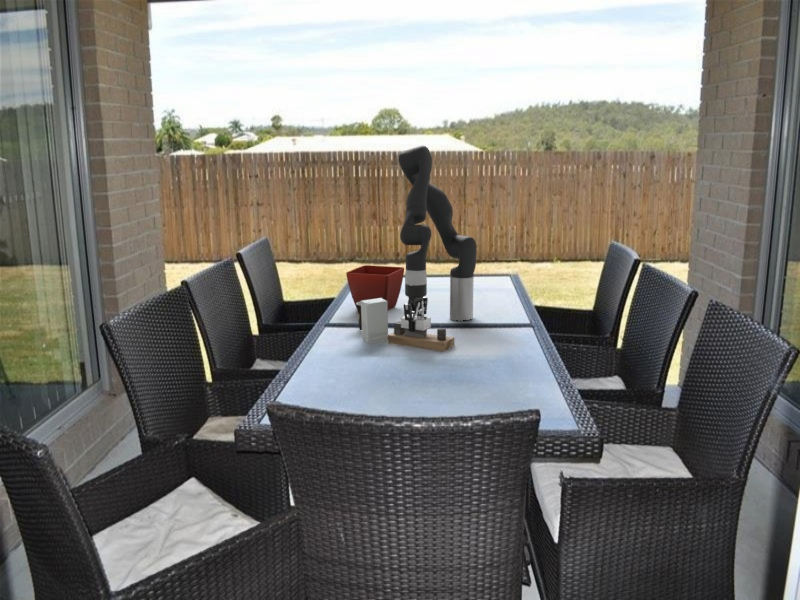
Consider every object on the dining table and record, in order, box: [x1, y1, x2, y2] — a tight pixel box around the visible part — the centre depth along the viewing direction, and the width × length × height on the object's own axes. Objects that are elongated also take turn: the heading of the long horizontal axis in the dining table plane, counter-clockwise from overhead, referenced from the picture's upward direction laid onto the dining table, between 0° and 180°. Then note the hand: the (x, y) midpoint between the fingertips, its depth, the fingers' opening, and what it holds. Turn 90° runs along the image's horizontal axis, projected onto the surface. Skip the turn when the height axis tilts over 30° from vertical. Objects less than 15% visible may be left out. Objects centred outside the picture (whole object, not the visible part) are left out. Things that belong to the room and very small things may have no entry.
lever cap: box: [400, 314, 432, 331], centre depth 261 cm, size 6×9×4 cm, turn 61°
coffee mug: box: [355, 302, 362, 331], centre depth 284 cm, size 12×9×10 cm
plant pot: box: [345, 264, 405, 311], centre depth 314 cm, size 19×19×17 cm
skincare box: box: [361, 298, 389, 344], centre depth 266 cm, size 8×6×15 cm
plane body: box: [387, 320, 455, 352], centre depth 261 cm, size 8×22×7 cm, turn 61°
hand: (415, 329), depth 262 cm, fingers closed on lever cap, 5 cm apart
